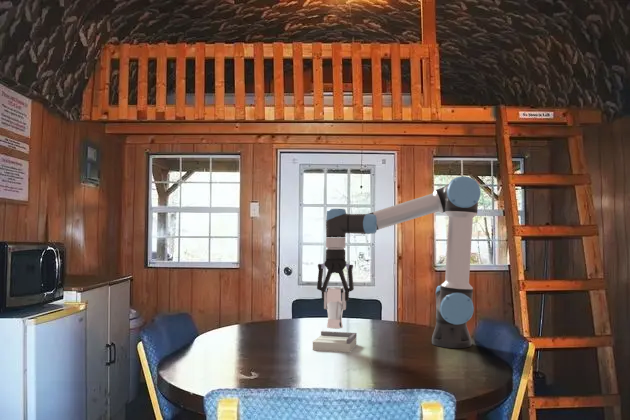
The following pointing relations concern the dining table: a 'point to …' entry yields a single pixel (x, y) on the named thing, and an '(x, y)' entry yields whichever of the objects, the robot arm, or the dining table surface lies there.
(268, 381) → the dining table surface
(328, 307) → the beer glass
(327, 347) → the dock
